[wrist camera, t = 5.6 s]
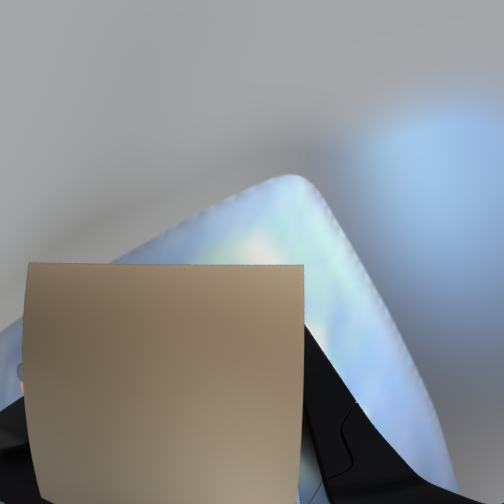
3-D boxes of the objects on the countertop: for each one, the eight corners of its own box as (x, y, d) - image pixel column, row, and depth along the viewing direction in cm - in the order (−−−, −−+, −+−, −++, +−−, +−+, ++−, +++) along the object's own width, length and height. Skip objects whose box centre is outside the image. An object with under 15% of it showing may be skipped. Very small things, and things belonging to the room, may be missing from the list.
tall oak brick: (281, 399, 14) (291, 554, 3) (195, 395, 15) (41, 497, 3) (282, 314, 15) (304, 264, 4) (197, 313, 16) (28, 262, 4)
